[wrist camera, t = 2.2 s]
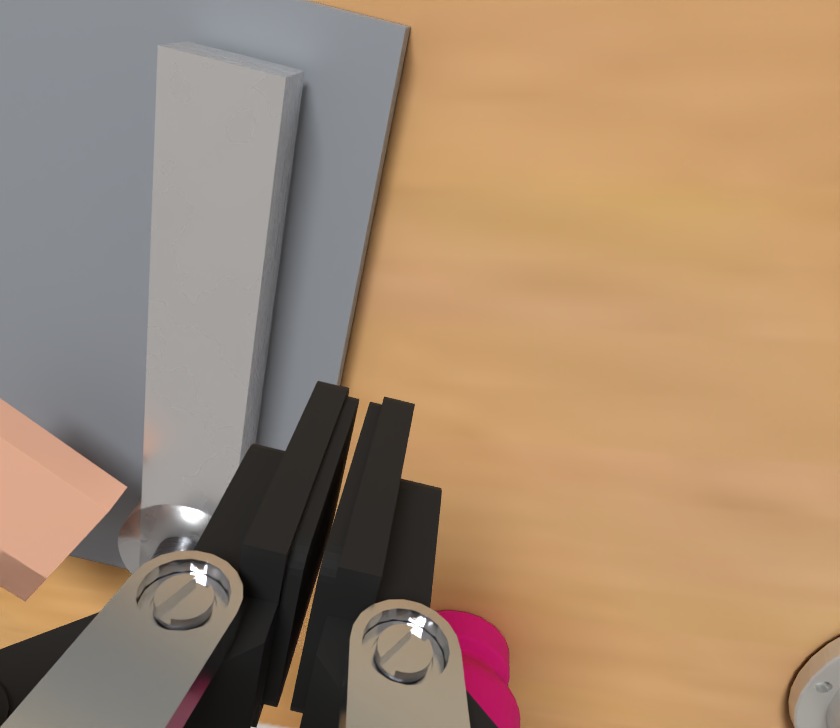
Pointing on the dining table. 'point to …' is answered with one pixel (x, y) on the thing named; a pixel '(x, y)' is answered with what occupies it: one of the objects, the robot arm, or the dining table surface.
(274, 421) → the slate board
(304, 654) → the robot arm
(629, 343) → the dining table surface
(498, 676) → the pepper mill
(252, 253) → the steel link
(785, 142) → the dining table surface
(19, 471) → the block
